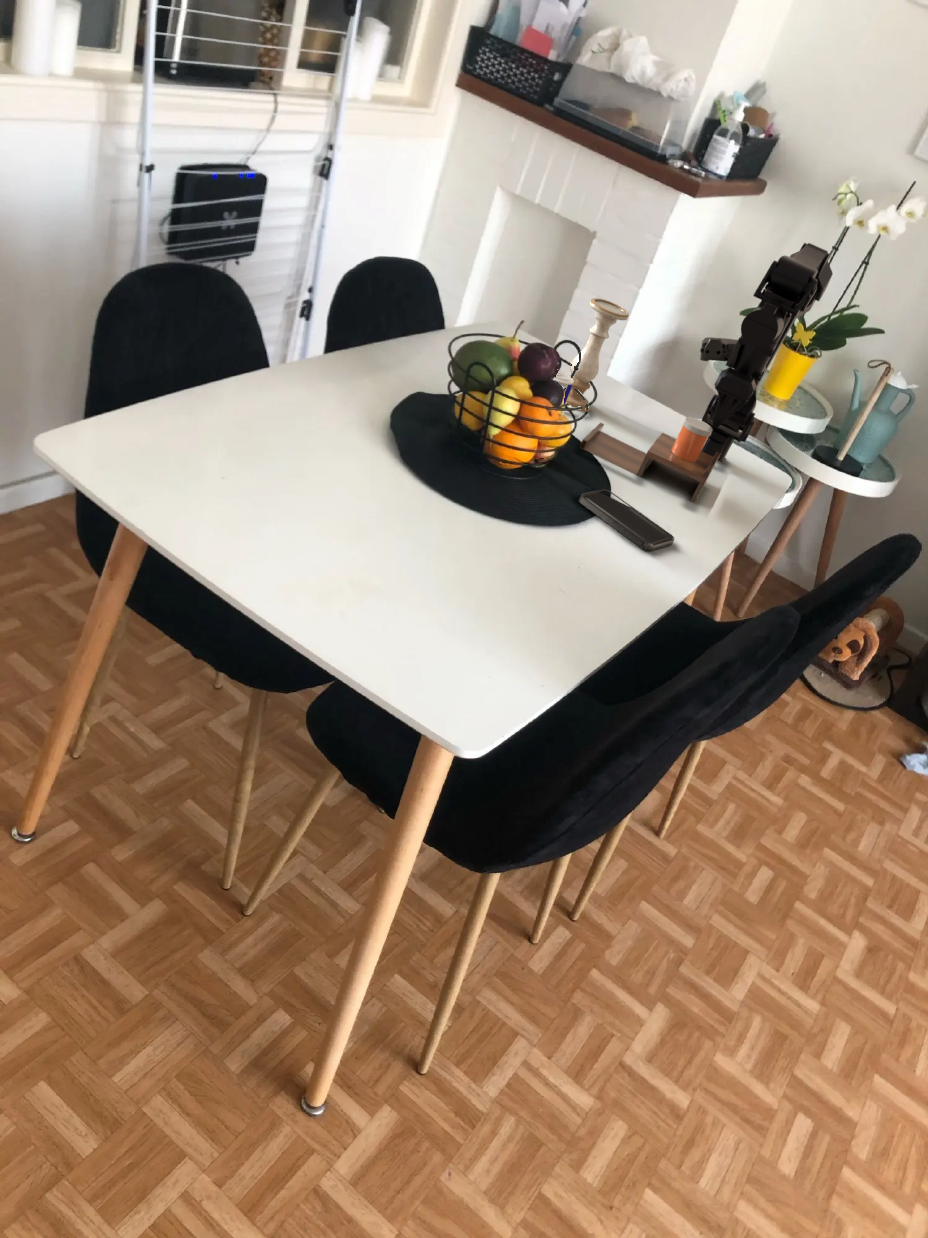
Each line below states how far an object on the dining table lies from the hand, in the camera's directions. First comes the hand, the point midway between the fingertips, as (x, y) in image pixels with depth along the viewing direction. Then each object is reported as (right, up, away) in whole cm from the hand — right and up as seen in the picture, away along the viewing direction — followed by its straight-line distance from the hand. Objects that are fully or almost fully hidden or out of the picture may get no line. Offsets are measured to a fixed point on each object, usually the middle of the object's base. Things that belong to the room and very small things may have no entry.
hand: (719, 419), depth 176 cm
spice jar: (-6, -6, -1) cm, 9 cm away
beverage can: (-35, -8, -9) cm, 37 cm away
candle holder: (-25, +6, +18) cm, 31 cm away
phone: (-19, -20, -18) cm, 33 cm away
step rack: (-13, -9, +3) cm, 16 cm away
